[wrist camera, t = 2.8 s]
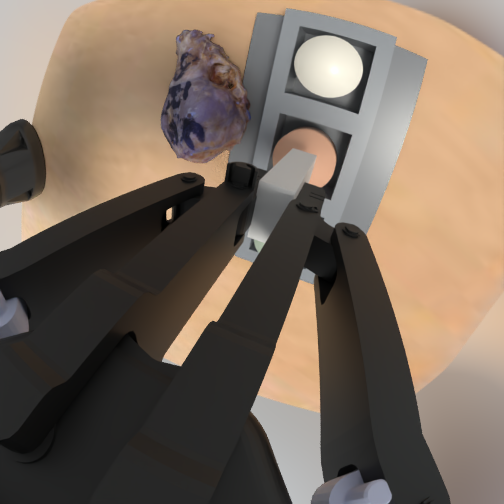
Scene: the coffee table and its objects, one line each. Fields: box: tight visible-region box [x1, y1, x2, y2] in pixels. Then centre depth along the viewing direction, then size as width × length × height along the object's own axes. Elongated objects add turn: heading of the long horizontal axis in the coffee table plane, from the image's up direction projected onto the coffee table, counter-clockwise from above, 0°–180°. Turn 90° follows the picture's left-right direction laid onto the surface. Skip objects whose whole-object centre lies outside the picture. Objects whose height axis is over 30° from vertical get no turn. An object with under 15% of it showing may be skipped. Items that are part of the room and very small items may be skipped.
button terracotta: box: [272, 127, 337, 187], centre depth 19 cm, size 4×4×2 cm
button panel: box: [228, 8, 428, 284], centre depth 21 cm, size 14×22×4 cm, turn 169°
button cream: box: [294, 35, 363, 98], centre depth 15 cm, size 4×4×2 cm
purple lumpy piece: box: [161, 30, 251, 163], centre depth 19 cm, size 12×8×6 cm, turn 7°
